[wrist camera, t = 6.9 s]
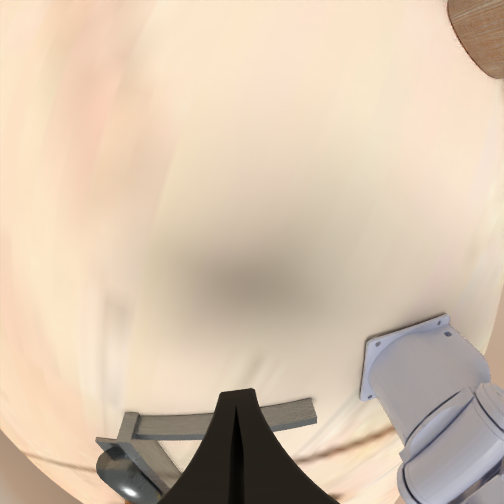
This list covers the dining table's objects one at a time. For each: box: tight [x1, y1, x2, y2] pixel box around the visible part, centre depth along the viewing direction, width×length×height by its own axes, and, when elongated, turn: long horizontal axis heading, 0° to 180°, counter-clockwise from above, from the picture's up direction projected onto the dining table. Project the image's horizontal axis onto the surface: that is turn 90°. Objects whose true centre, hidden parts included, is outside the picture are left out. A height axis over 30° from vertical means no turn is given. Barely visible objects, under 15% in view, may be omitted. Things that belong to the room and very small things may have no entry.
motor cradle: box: [95, 398, 317, 504], centre depth 24 cm, size 26×25×6 cm
